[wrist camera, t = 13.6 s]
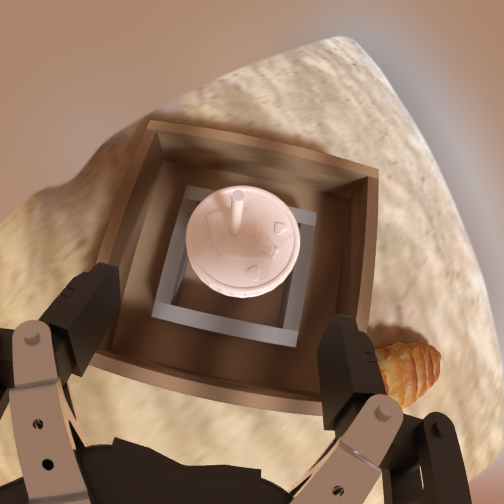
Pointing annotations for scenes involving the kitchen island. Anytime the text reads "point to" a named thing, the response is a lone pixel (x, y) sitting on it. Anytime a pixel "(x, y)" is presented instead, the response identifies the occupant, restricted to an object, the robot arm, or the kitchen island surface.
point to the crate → (227, 307)
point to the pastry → (408, 370)
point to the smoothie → (242, 241)
